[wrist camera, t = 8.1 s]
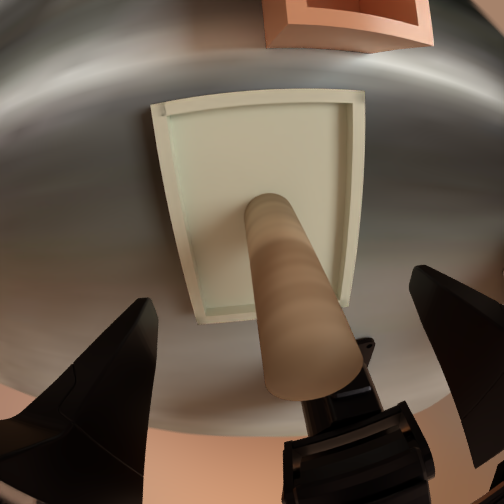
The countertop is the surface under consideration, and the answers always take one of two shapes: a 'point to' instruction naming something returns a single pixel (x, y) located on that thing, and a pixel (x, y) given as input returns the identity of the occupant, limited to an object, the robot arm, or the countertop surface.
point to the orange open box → (347, 24)
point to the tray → (260, 184)
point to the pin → (295, 307)
